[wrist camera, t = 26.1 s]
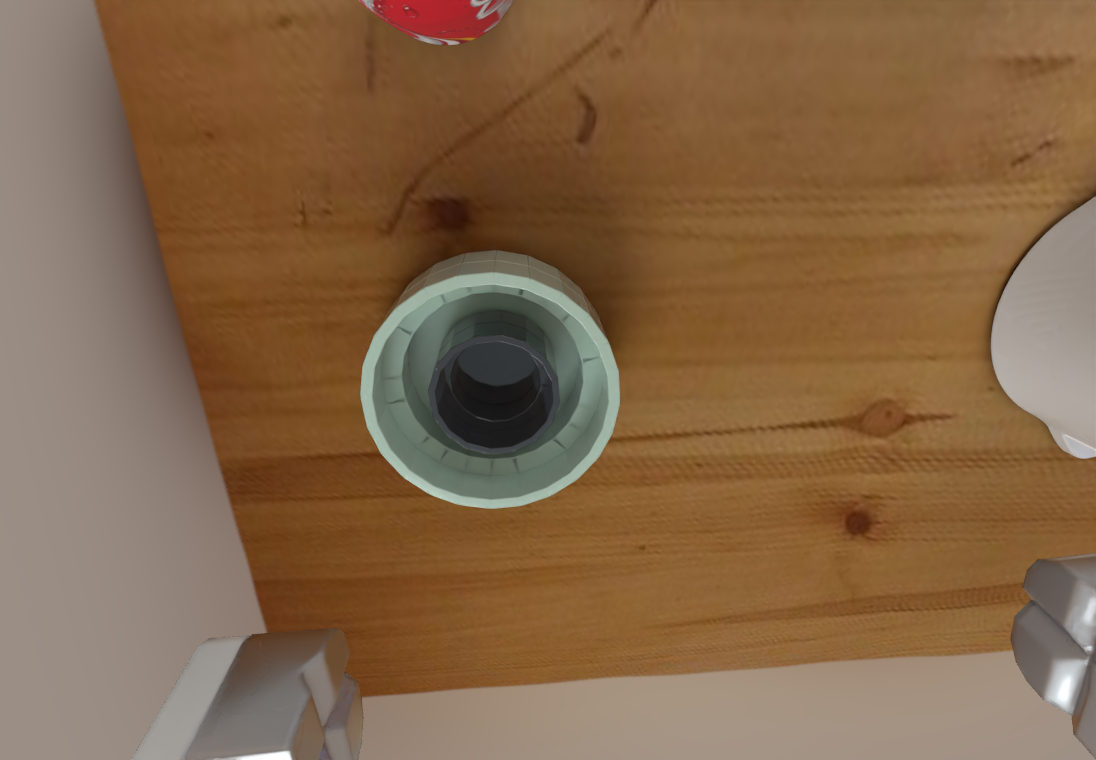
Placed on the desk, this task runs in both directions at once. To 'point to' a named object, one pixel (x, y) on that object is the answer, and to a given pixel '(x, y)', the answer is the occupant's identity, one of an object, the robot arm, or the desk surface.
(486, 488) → the celadon bowl
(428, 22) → the soda can
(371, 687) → the desk surface
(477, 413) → the charcoal cup
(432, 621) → the desk surface
